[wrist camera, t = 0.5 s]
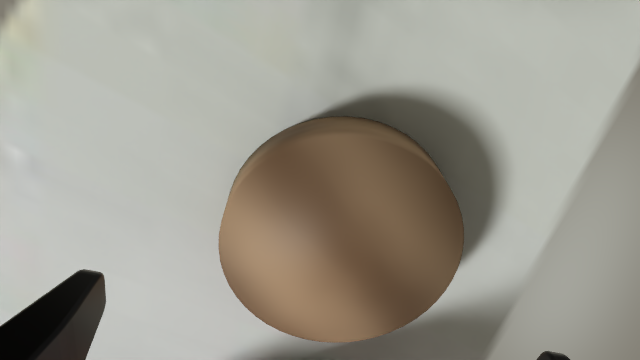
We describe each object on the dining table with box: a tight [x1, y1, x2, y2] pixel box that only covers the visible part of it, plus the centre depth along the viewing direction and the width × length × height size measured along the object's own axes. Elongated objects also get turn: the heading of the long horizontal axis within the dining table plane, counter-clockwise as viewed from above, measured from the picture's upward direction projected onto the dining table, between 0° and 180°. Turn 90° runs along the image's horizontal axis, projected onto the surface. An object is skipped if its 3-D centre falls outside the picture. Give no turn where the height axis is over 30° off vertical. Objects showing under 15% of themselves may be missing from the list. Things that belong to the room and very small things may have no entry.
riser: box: [219, 116, 464, 342], centre depth 25 cm, size 12×12×3 cm
